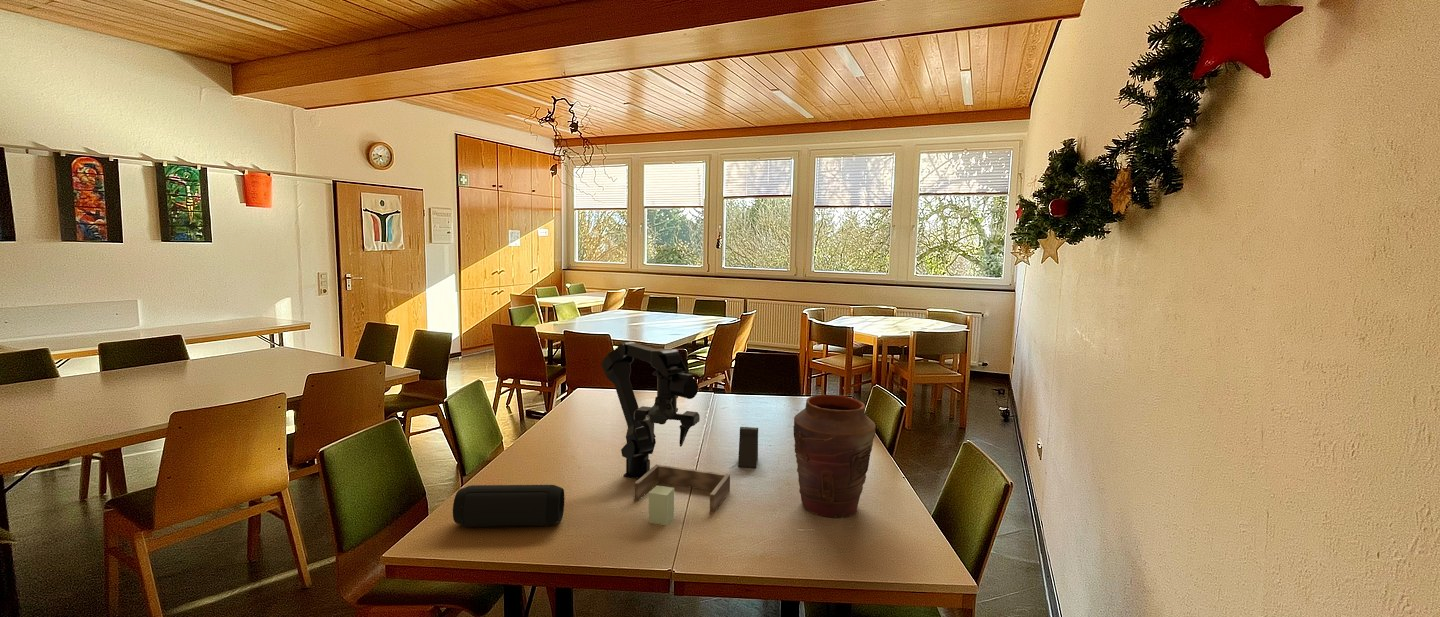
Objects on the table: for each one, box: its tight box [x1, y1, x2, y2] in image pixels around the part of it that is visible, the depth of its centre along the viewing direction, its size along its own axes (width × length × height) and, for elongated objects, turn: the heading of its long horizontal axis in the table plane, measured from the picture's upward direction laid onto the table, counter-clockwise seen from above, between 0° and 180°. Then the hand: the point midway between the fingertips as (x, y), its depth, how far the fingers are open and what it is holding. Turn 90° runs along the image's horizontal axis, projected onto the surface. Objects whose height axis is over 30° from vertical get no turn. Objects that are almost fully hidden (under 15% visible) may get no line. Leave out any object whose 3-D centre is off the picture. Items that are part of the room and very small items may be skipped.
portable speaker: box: [452, 484, 565, 528], centre depth 150 cm, size 26×10×10 cm, turn 94°
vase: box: [793, 394, 876, 519], centre depth 163 cm, size 23×22×30 cm
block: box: [648, 484, 675, 526], centre depth 155 cm, size 5×5×8 cm
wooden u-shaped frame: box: [633, 463, 731, 514], centre depth 170 cm, size 23×15×5 cm, turn 73°
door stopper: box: [737, 426, 759, 469], centre depth 197 cm, size 9×6×12 cm, turn 172°
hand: (666, 444), depth 175 cm, fingers open, 9 cm apart
